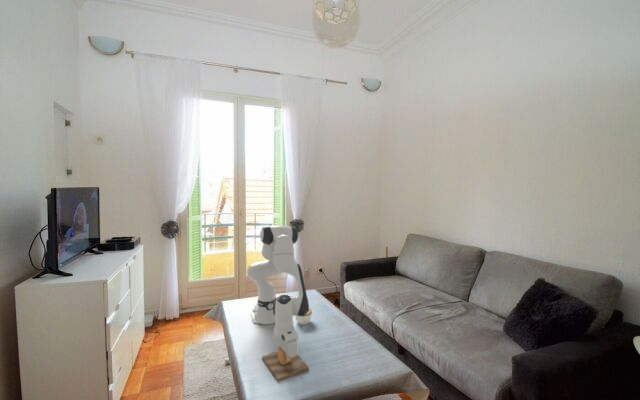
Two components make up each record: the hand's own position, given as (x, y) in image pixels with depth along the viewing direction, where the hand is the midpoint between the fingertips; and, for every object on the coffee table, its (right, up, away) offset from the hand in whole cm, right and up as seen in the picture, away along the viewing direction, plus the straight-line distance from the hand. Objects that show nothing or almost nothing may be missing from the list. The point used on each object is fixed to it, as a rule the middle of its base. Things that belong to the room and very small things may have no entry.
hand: (284, 356), depth 147 cm
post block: (0, -4, 0) cm, 4 cm away
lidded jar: (+7, -1, +43) cm, 43 cm away
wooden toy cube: (0, -2, 0) cm, 2 cm away
